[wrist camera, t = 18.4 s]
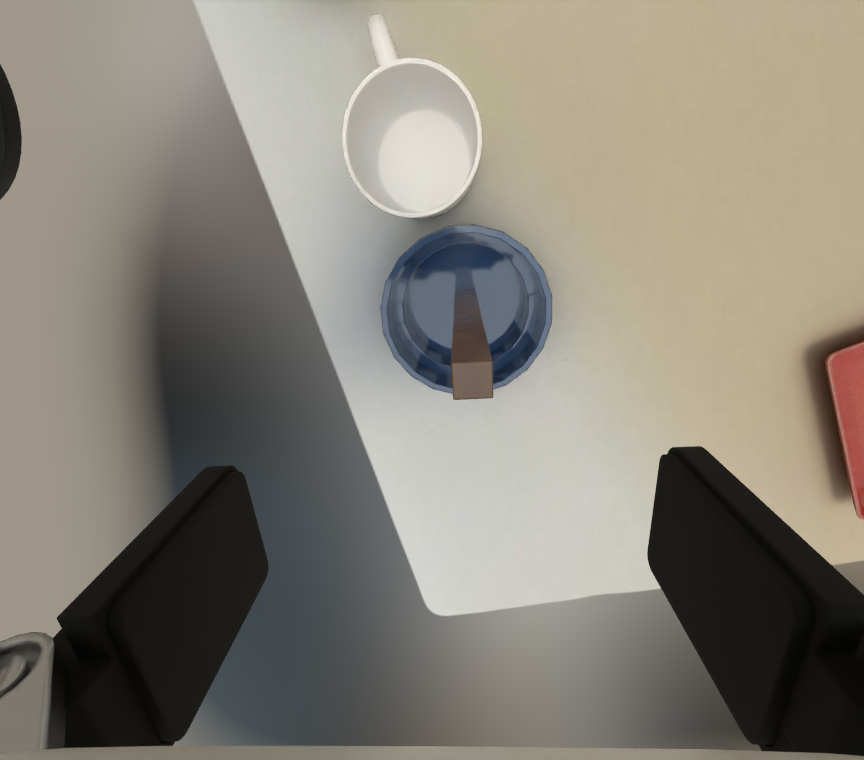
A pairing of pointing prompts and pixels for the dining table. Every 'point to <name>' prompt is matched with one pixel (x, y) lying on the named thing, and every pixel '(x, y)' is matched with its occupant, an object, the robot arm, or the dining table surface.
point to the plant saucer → (850, 413)
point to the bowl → (496, 292)
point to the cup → (410, 133)
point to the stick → (470, 350)
